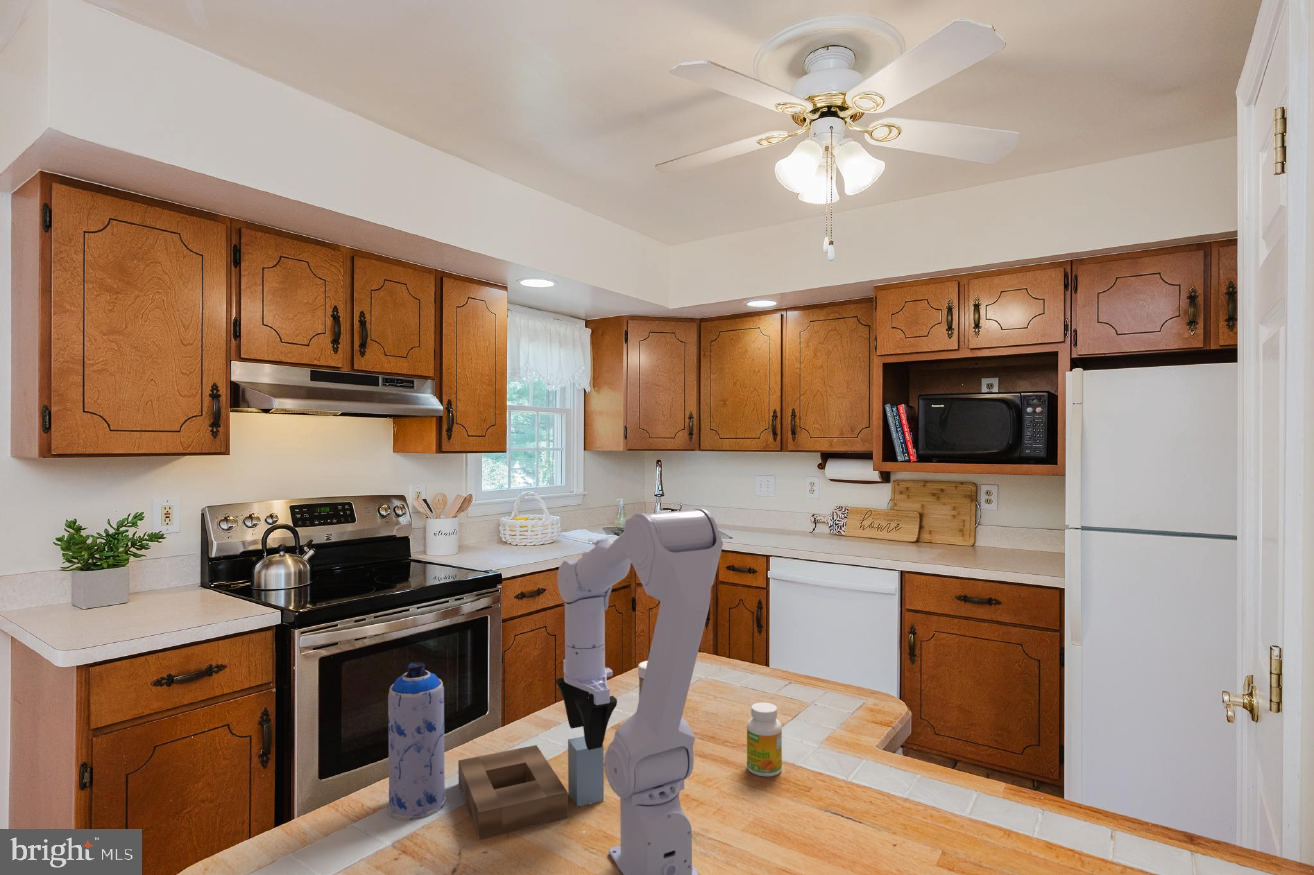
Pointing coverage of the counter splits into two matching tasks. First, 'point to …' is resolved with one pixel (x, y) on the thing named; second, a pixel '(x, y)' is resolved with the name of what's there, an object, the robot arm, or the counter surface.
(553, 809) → the walnut socket holder
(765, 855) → the counter surface
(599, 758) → the slate peg
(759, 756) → the supplement bottle
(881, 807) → the counter surface
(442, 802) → the aerosol can
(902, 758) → the counter surface
